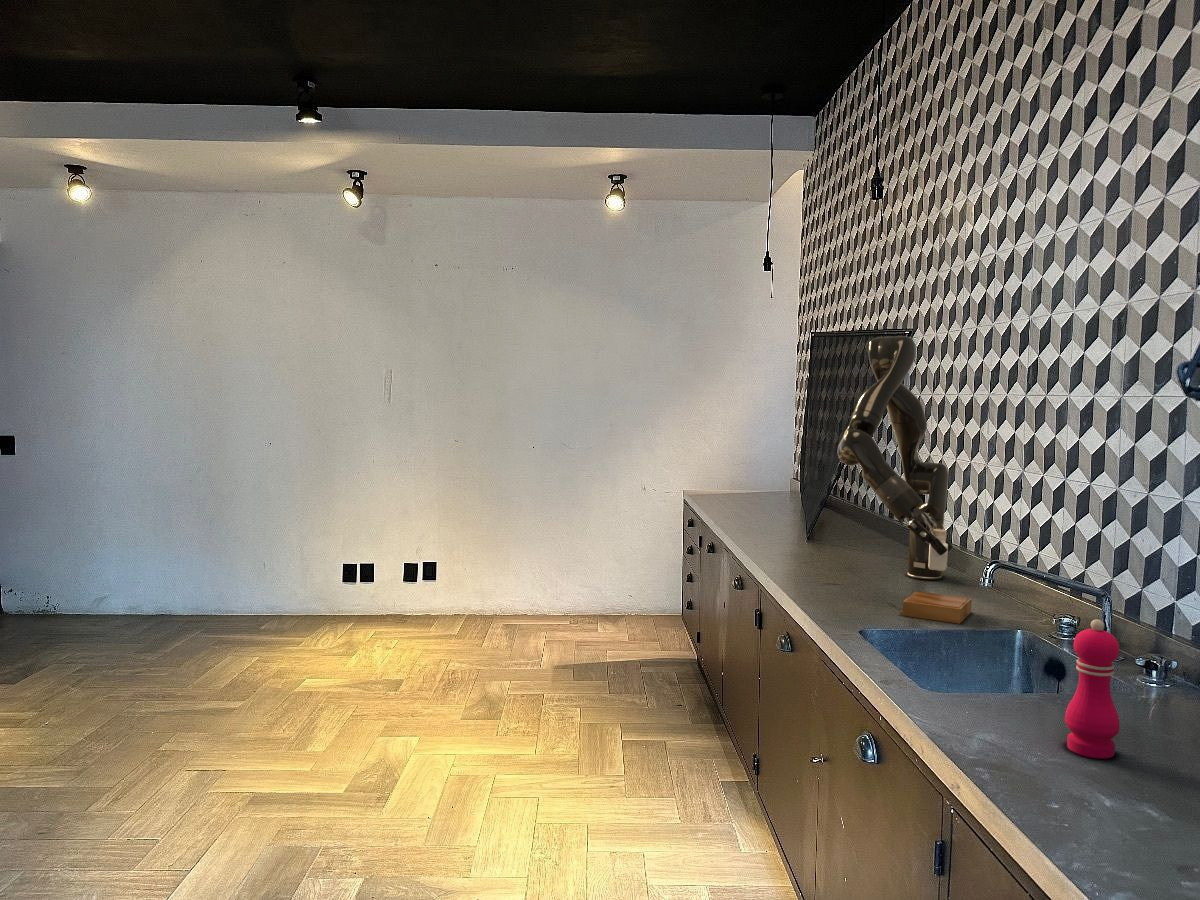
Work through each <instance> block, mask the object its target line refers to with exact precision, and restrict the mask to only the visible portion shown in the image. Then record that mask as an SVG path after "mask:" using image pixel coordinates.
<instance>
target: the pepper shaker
mask: <svg viewBox="0 0 1200 900" xmlns="http://www.w3.org/2000/svg"><path fill="white" fill-rule="evenodd" d="M932 531H933V533H934V534H935V535H936V537H937V538H938V539H939V540H940V541H941V542H942V544H943V545H944V546H945V547H946V548H947V551H946V552H945V553H944V554H943V555H939V554H938V553H937V552H936V551H935V549H934V548H933V547H932V546H931V545H929V565H928V567H929V569H931V570H939V571H942V572H944V571H946V570H947V568H948V556H949V555H948V553H949V551H948V544H947V543H946V539H947V537H948V535H947V533H948V531H947V530H946V529H944V530H942V529H933V530H932ZM935 539H936V538H935Z"/></svg>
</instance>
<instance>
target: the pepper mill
mask: <svg viewBox="0 0 1200 900" xmlns="http://www.w3.org/2000/svg"><path fill="white" fill-rule="evenodd" d="M1104 629H1105V623H1104V622H1103V621H1102V620H1101V619H1098V618H1096V619H1093V620H1091V622H1090V628H1087V629H1083V630H1081V631H1080V632H1078V633H1077V634H1076V636H1075V638H1074V640H1073V650H1074V653H1075V654H1076V656H1078V659H1076V666H1075V669H1076V670H1077V671H1078V683H1077V687H1076V690H1075V693H1074V695H1073V697H1072V698H1071V700H1070V702H1069V703H1068V705H1067V707H1066V710H1065V716H1064V722H1065V725H1066V727H1067V728H1068V729H1069V730H1070V733H1068V734H1067V738H1066V739H1067V740H1066V741H1067V742H1066V747H1067V748H1068V750H1069V751H1071V752H1072V753H1074V754H1077V755H1079V756H1083V757H1086V758H1090V759H1096V760H1097V759H1099V760H1100V759H1102V760H1103V759H1110V758H1113V757H1114V756H1115V753H1116V750H1115V749H1116V743H1115V741H1114V740H1113V738H1115V737H1116V736H1117V735H1118V734H1119V732H1120V729H1121V728H1120V717H1119V713H1118V710H1117V709H1116V706H1115V703H1114V700H1113V698H1112V693H1111V677H1112V676H1113V675H1115V671H1114V670H1115V667H1116V665H1115V664H1114V663H1113V662H1115V660H1117V659H1118V658H1119V655H1120V644H1119V642H1118V640H1117V637H1115V635H1113V634H1112V633H1110V632H1109V631H1106V630H1104Z"/></svg>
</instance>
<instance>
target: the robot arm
mask: <svg viewBox="0 0 1200 900" xmlns="http://www.w3.org/2000/svg"><path fill="white" fill-rule="evenodd" d="M916 350H917V349H916V345H915V342H914V339H913V338H912V337H910V336H906V335H892V336H891V335H890V336H889V335H887V336H878V337H874V338H873V339H871V340H870V341H869V344H868V351H867V352H868V360H869V364H870V366H871V370H872V371H873V374H874V377H875V379H876V382H875V383H873V384H872V385H871V386H870V387H869V388H868V389H867V390H866V391H865V392H864V393H863V394H862V395H861V396H860V398H859V399H858V401H857V404H856V406H855V408H854V411H853V413H852V416H851V418H850V422H849V424H848V426H847V428H846V429H845V431H844V434H843V435H842V438H841V440H840V441H839V443H838V446H837V450H836V451H837V453H836V454H837V456H838V459H839V460H840V462H841V463H842V464H844V465H847V466H856V465H858V464H859V465H860V467H861V476H862V478H863V480H864V481H865V483H866V484H867V485H868V486H869V487H870V488H871V490H872V491H873V492H874V493H875V494H876V496H877V497H878V498H879V500H880V501H881V503H882V504H883V505H884V506H885V507H886V508H887V509H888V510H889V512H890V513H891V514H892V515H893V516H894V517H895V518H896V520H897V521H903V520H905V519H906V521H908V523H906V527H907V528H908V529H909V535H908V536H909V537H908V559H907V575H906V576H908V577H909V578H913V579H918V580H926V581H927V580H928V581H935V580H941V579H942V578H943V575H942V574H943V571H939V570H931V569H929V567H928V565H929V545H931V546H932V547H933V548H934V549H935V551H936V552H937V553H938V554H939V555H943V554H944V553H945V552H946V551H947V548H946V547H945V546H944V545H943V544H942V542H941V541H940V540H939V539H938V538H937V537H936V535H935V534H934V533H933V531H932V530H933V529H942V530H945V513H946V509H947V497H948V488H949V470H948V467H947V466H946V465H945V463H944V464H943V463H941V462H940V463H939V462H930V461H929V462H928V461H927V462H926V461H921V460H920V457H919V454H918V450H919V446H920V444H921V442H922V440H923V439H924V437H925V434H926V432H927V430H928V429H927V428H928V421H927V416H926V414H925V410H924V407H923V404H922V402H921V400H920V399H919V398H918V397H917V396H916V395H915V394H914V393H913V391H911V390H910V389H909V388H908V387H907V386H906V385H904V383H903V381H904V379H905V378H906V376H907V374H908V373H909V372H910V370H911V369H912V367H913V364H914V362H915V360H916V354H917V353H916V352H917V351H916ZM886 409H887V415H888V418H889V421H890V424H891V427H892V430H893V434H894V436H895V441H896V444H897V447H898V452H899V454H900V460H901V466H902V471H903V477H904V478H903V477H901V476H900V475H899V473H898V472H896V471H895V470H894V469H893V467H892V466H891V465H890V464H889V463H888V461H886V459H885V457H884V455H883V453H882V451H881V449H880V448H879V446H878V445H877V443H876V441H875V440H874V438H873V436H874V434H875V433H876V431H877V430H878V428H879V426H880V423H881V421H882V419H883V416H884V414H885V412H886ZM918 494H920V495H928V499H927V501H926V502H924V501H923V499H922V498H921V497H920V495H918ZM935 538H936V539H935ZM946 543H947V544H948V552H949V551H951V550H953V548H954V546H953V544H951V542H949V540H948V538H946Z"/></svg>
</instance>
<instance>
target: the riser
mask: <svg viewBox="0 0 1200 900" xmlns="http://www.w3.org/2000/svg"><path fill="white" fill-rule="evenodd" d="M971 613H972V598H971V597H964V596H956V595H949V594H943V593H942V594H941V593H933V592H925V591H915V592H914V593H912V594H911V595H910V596H908V597H907V598H905V599H904V600H903V601H902V616H904V617H910V618H916V619H917V618H918V619H924V620H931V621H937V622H944V623H950V624H958V625H960V624H962V622H963V621H964V620H965V619H966V618H968V616H969V615H970V614H971Z"/></svg>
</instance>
